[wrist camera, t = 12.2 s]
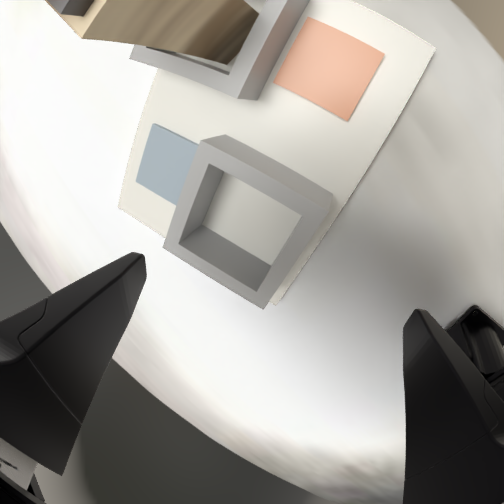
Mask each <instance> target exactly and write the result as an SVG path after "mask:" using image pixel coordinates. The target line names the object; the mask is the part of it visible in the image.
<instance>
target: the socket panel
mask: <svg viewBox="0 0 504 504" xmlns="http://www.w3.org/2000/svg"><path fill="white" fill-rule="evenodd" d="M244 1H245V2H246V3H248V4H249V5H250V6H251V7H252V8H253V9H254V10H256V11H257V12H258V13H259V15H258V17H257V19H256V21H255V23H254V25H253V27H252V29H251V31H250V33H249V34H248V36H247V38H246V40H245V42H244V44H243V46H242V48H241V50H240V52H239V53H238V54H237V55H236V56H235V57H234V58H233V59H232V60H231V61H230V62H229V63H228V64H227V65H225V64H222V63H218V62H215V61H211V60H207V59H204V58H200V57H196V56H192V55H187V54H183V53H178V52H174V51H169V50H164V49H159V48H153V47H148V46H142V45H134V48H133V50H132V53H131V55H130V58H129V59H132V60H135V61H138V62H141V63H145V64H148V65H151V66H154V67H157V68H158V70H157V73H156V75H155V78H154V81H153V83H152V86H151V89H150V92H149V95H148V97H147V100H146V103H145V106H144V109H143V112H142V116H141V119H140V122H139V125H138V128H137V132H136V135H135V139H134V142H133V146H132V149H131V153H130V157H129V161H128V165H127V169H126V173H125V177H124V181H123V185H122V190H121V194H120V199H119V204H118V208H120V209H121V210H123V211H124V212H126V213H127V214H129V215H130V216H132V217H133V218H135V219H136V220H138V221H140V222H141V223H143V224H144V225H146V226H147V227H149V228H150V229H152V230H153V231H155V232H157V233H158V234H160V235H161V236H163V237H164V238H166V239H165V242H164V245H163V248H164V249H166V250H167V251H169V252H170V253H172V254H174V255H175V256H177V257H178V258H180V259H181V260H183V261H185V262H186V263H188V264H189V265H191V266H192V267H194V268H196V269H197V270H199V271H200V272H202V273H204V274H205V275H207V276H208V277H210V278H212V279H213V280H215V281H217V282H218V283H220V284H221V285H223V286H225V287H226V288H228V289H230V290H231V291H233V292H235V293H236V294H238V295H240V296H241V297H243V298H245V299H246V300H248V301H250V302H251V303H253V304H255V305H256V306H258V307H260V308H261V309H264V308H265V306H266V305H267V304H268V302H270V303H272V304H274V305H275V306H276V305H277V303H278V302H279V301H280V299H281V298H282V296H283V295H284V294H285V292H286V291H287V289H288V288H289V287H290V285H291V284H292V282H293V281H294V279H295V278H296V277H297V275H298V274H299V272H300V271H301V269H302V268H303V266H304V265H305V264H306V262H307V261H308V259H309V258H310V256H311V255H312V253H313V252H314V250H315V249H316V247H317V246H318V245H319V243H320V242H321V240H322V239H323V237H324V236H325V234H326V233H327V231H328V230H329V228H330V227H331V225H332V224H333V222H334V220H335V219H336V217H337V216H338V214H339V213H340V211H341V210H342V208H343V207H344V205H345V204H346V202H347V200H348V199H349V197H350V196H351V194H352V193H353V191H354V190H355V188H356V186H357V185H358V183H359V182H360V180H361V178H362V177H363V175H364V174H365V172H366V170H367V169H368V167H369V166H370V164H371V162H372V161H373V159H374V157H375V156H376V154H377V152H378V151H379V149H380V147H381V146H382V144H383V142H384V141H385V139H386V137H387V136H388V134H389V132H390V131H391V129H392V127H393V126H394V124H395V122H396V120H397V119H398V117H399V115H400V114H401V112H402V110H403V108H404V107H405V105H406V103H407V101H408V99H409V98H410V96H411V94H412V92H413V91H414V89H415V87H416V85H417V83H418V81H419V80H420V78H421V76H422V74H423V72H424V70H425V69H426V67H427V65H428V63H429V61H430V59H431V57H432V55H433V53H434V51H435V50H436V48H435V47H434V46H432V45H431V44H429V43H428V42H426V41H425V40H423V39H421V38H420V37H418V36H417V35H415V34H414V33H412V32H410V31H409V30H407V29H405V28H404V27H402V26H400V25H399V24H397V23H395V22H393V21H391V20H390V19H388V18H386V17H384V16H382V15H380V14H378V13H376V12H374V11H372V10H370V9H368V8H366V7H364V6H362V5H360V4H358V3H356V2H354V1H351V0H244Z"/></svg>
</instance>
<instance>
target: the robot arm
mask: <svg viewBox="0 0 504 504" xmlns="http://www.w3.org/2000/svg"><path fill="white" fill-rule="evenodd" d="M146 277H147V273H146V263H145V257H144V255H143V254H140V253H136V252H131V253H129V254H127V255H125V256H123V257H121V258H119V259H117V260H115V261H113V262H111V263H109V264H107V265H106V266H104V267H102V268H100V269H98V270H96V271H94V272H92V273H90V274H88V275H87V276H85V277H83V278H81V279H79V280H77V281H75V282H74V283H72V284H70V285H68V286H66V287H64V288H63V289H61V290H59V291H57V292H55V293H54V294H52V295H50V296H48V298H45V299H43V300H41V301H39V302H38V303H36V304H34V305H32V306H30V307H28V308H27V309H25V310H23V311H21V312H19V313H17V314H15V315H13V316H11V317H8V318H6V319H4V320H2V321H0V504H46V503H44V501H45V500H44V498H43V495H42V493H41V490H40V488H39V485H38V482H37V480H36V477H35V474H34V471H35V469H36V466H37V464H38V463H39V464H41V465H43V466H44V467H46V468H48V469H50V470H52V471H53V472H55V473H57V474H59V475H61V476H62V474H63V472H64V470H65V467H66V464H67V462H68V459H69V456H70V454H71V451H72V448H73V446H74V443H75V440H76V438H77V436H78V433H79V431H80V428H81V426H82V423H83V420H84V418H85V416H86V413H87V411H88V408H89V406H90V404H91V402H92V399H93V397H94V395H95V392H96V390H97V388H98V386H99V384H100V381H101V379H102V377H103V375H104V373H105V371H106V368H107V366H108V364H109V362H110V360H111V358H112V356H113V354H114V352H115V350H116V348H117V346H118V343H119V341H120V339H121V337H122V335H123V333H124V331H125V329H126V327H127V326H128V323H129V321H130V319H131V317H132V314H133V312H134V309H135V307H136V304H137V301H138V299H139V296H140V294H141V291H142V289H143V286H144V284H145V281H146ZM474 311H476V312H475V313H473V312H474ZM503 346H504V328H503V327H502V326H500V325H499V324H498V323H497V322H496V321H495V320H494V319H492V318H491V317H490V316H489V315H488V314H487V313H485V312H484V311H483V310H482V309H481V308H479V307H478V306H472V307H471V308H470V309H469V310H468V311H467V312H466V313H465V314H464V315H463V316H462V318H461V319H460V320H459V321H458V322H457V323H456V324H455V325H454V326H452V327H451V328H450V329H449V330H448V331H447V332H446V331H445V330H444V329H443V328H442V327H441V326H440V325H439V323H438V322H437V321H436V320H435V319H434V318H433V317H432V316H431V315H430V313H429V312H428V311H426V310H423V309H415V310H414V311H413V313H412V314H411V316H410V317H409V319H408V320H407V322H406V323H405V325H404V328H403V376H404V391H405V413H406V462H405V481H404V494H403V504H504V349H503Z"/></svg>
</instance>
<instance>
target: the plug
mask: <svg viewBox="0 0 504 504" xmlns="http://www.w3.org/2000/svg"><path fill="white" fill-rule="evenodd" d="M45 1H46V2H47V3H48V4H49V5H50V6H51V7H52V8H53V9H54V10H55V11H56V12H57V13H58V15H59V16H60V17H61V18H62V19H63V20H64V21H65V22H66V23H67V24H68V25H69V26H70V27H71V28H72V29H73V30H74V31H75V32H76V33H77V35H78V36H79V37H80V38H81V39H93V40H104V41H113V42H121V43H129V44H135V45H142V46H148V47H153V48H159V49H164V50H169V51H174V52H178V53H183V54H187V55H192V56H196V57H200V58H204V59H207V60H211V61H215V62H218V63H222V64H225V65H227V64H228V63H229V62H230V61H231V60H232V59H233V58H234V57H235V56H236V55H237V54H238V53H239V52H240V50H241V48H242V46H243V44H244V42H245V40H246V38H247V36H248V34H249V33H250V31H251V29H252V27H253V25H254V23H255V21H256V19H257V17H258V15H259V13H258V12H257V11H256V10H254V9H253V8H252V7H251V6H250V5H249V4H248V3H246V2H245V1H244V0H45Z"/></svg>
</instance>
